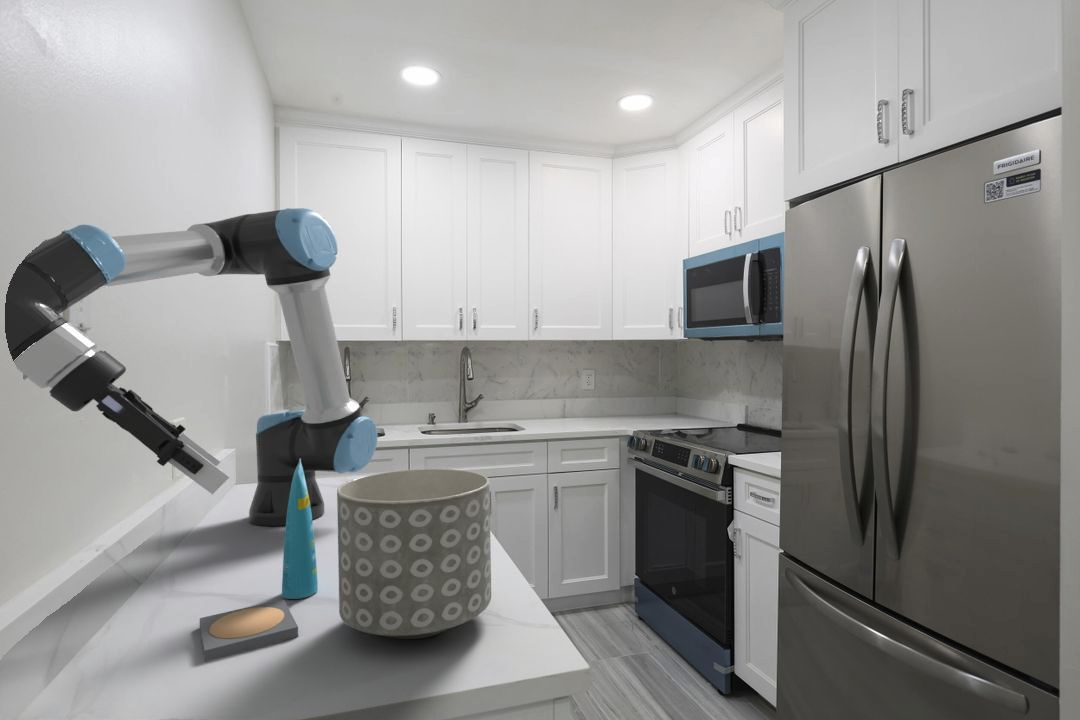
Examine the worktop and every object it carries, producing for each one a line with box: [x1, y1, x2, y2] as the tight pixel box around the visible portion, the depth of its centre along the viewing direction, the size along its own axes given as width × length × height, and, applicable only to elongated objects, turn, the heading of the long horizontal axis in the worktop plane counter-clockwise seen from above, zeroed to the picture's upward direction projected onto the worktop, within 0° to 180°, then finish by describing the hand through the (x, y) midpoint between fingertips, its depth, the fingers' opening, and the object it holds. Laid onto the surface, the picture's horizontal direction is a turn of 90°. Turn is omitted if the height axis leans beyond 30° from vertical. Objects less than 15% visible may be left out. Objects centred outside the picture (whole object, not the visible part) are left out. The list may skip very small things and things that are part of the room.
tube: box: [281, 459, 319, 600], centre depth 84 cm, size 7×5×19 cm, turn 26°
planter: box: [336, 468, 492, 640], centre depth 74 cm, size 19×19×18 cm
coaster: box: [199, 598, 299, 662], centre depth 72 cm, size 10×10×1 cm
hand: (217, 476), depth 78 cm, fingers open, 13 cm apart
